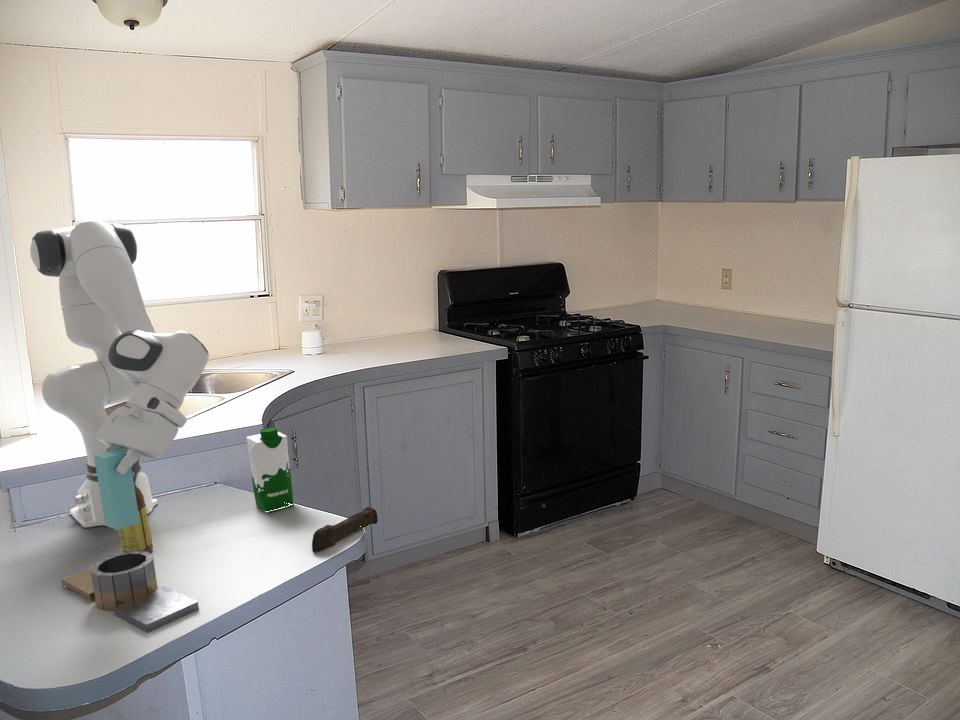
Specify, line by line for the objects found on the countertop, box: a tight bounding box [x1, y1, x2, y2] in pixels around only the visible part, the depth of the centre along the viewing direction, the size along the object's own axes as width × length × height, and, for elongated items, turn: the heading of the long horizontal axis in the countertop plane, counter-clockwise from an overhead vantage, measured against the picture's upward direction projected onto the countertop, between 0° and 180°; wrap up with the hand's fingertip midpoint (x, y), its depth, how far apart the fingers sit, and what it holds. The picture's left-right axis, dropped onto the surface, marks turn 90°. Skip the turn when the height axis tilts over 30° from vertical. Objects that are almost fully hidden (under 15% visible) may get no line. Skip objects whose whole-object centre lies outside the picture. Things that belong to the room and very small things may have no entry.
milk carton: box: [245, 427, 294, 512], centre depth 199 cm, size 9×9×20 cm
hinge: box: [61, 551, 200, 634], centre depth 155 cm, size 34×11×7 cm, turn 50°
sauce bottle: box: [117, 466, 154, 553], centre depth 175 cm, size 6×6×20 cm
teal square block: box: [94, 448, 140, 531], centre depth 153 cm, size 4×4×14 cm
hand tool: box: [311, 506, 379, 553], centre depth 178 cm, size 19×4×5 cm, turn 144°
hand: (110, 470), depth 152 cm, fingers closed on teal square block, 4 cm apart
